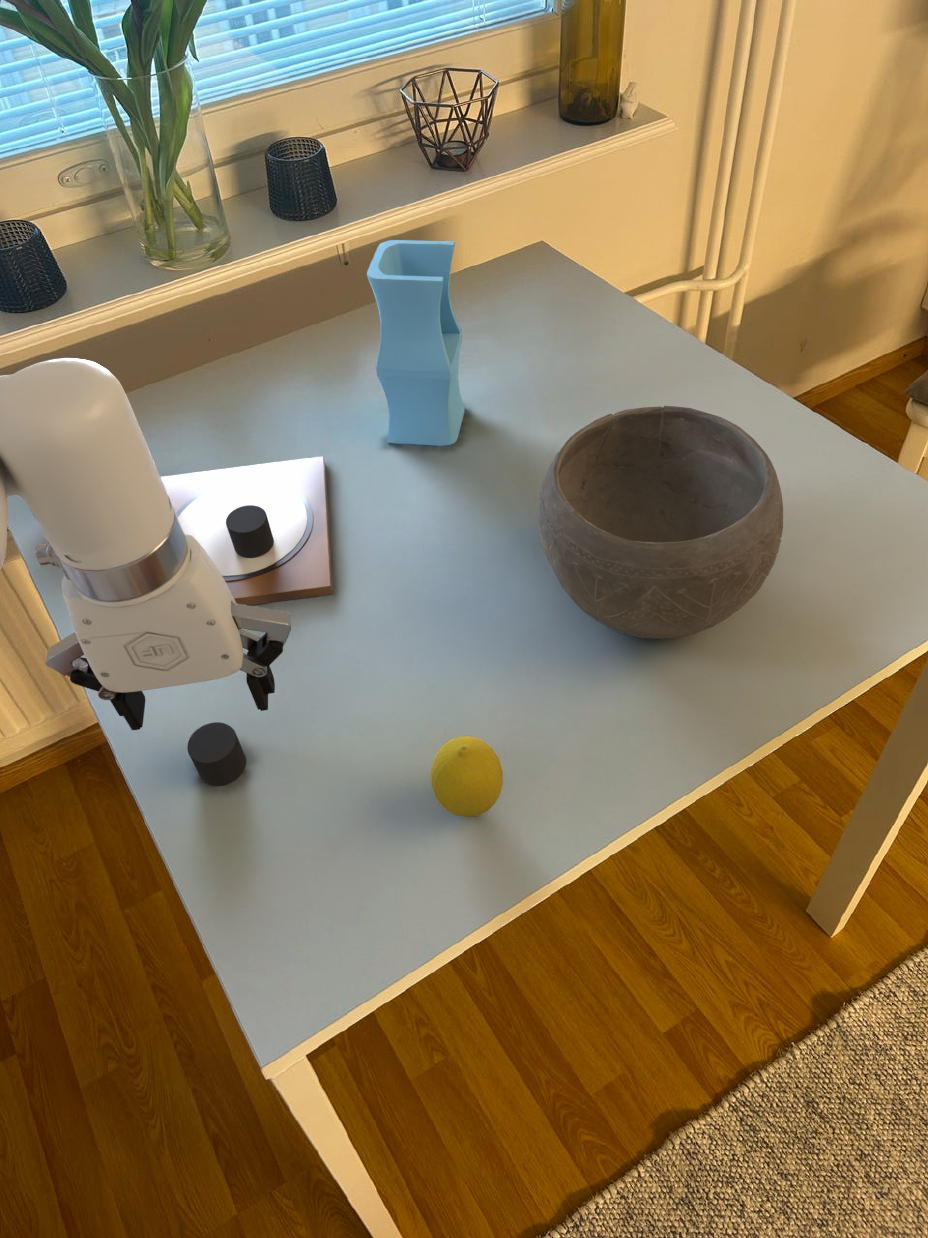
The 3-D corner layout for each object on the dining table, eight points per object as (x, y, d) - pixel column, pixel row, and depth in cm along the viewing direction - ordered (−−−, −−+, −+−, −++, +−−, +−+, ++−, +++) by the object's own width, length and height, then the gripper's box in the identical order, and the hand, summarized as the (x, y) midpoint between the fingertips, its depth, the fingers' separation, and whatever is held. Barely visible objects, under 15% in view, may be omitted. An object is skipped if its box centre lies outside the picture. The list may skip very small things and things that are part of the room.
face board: (146, 619, 90) (142, 610, 89) (162, 484, 103) (159, 475, 102) (332, 594, 91) (330, 584, 90) (325, 464, 104) (323, 454, 103)
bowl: (494, 585, 90) (488, 464, 79) (642, 487, 98) (656, 364, 87) (656, 717, 79) (677, 598, 68) (808, 594, 87) (849, 469, 76)
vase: (455, 446, 105) (442, 281, 89) (387, 442, 106) (363, 278, 91) (466, 404, 110) (456, 240, 95) (401, 401, 111) (380, 238, 96)
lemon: (516, 791, 75) (514, 735, 69) (482, 846, 72) (477, 793, 66) (457, 763, 77) (451, 707, 71) (421, 815, 74) (412, 761, 68)
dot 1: (197, 789, 77) (185, 766, 74) (199, 749, 80) (188, 725, 77) (245, 782, 77) (235, 759, 75) (246, 742, 80) (237, 718, 77)
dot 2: (233, 560, 93) (224, 535, 90) (234, 533, 95) (226, 507, 93) (274, 555, 93) (266, 529, 90) (274, 528, 95) (266, 502, 93)
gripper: (-25, 612, 57) (83, 763, 69) (259, 570, 57) (314, 728, 70) (-1, 528, 61) (96, 684, 74) (260, 490, 62) (311, 651, 75)
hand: (201, 705), depth 72 cm, fingers open, 9 cm apart
